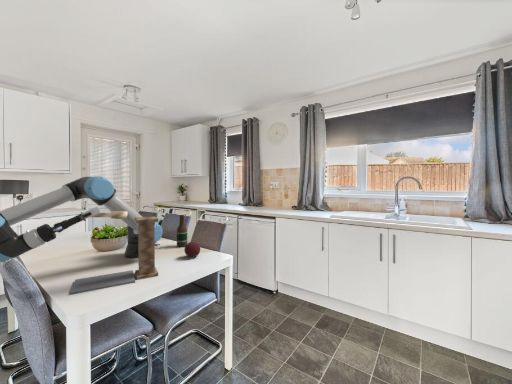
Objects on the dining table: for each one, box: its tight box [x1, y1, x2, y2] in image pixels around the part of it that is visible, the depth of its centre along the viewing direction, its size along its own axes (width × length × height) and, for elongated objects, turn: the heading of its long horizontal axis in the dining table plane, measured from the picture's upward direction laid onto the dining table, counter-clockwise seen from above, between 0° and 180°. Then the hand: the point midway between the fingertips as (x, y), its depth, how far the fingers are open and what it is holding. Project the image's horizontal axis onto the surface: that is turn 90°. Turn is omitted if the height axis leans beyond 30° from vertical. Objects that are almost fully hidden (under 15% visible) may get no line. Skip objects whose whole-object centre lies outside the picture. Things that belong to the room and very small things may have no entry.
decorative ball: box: [184, 241, 201, 258], centre depth 155 cm, size 10×10×10 cm
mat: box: [70, 269, 136, 295], centre depth 116 cm, size 25×16×1 cm, turn 121°
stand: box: [134, 216, 159, 280], centre depth 125 cm, size 10×10×30 cm
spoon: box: [80, 211, 128, 220], centre depth 115 cm, size 19×7×3 cm, turn 122°
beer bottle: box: [176, 214, 188, 248], centre depth 180 cm, size 8×8×24 cm
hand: (98, 209), depth 113 cm, fingers closed on spoon, 2 cm apart
